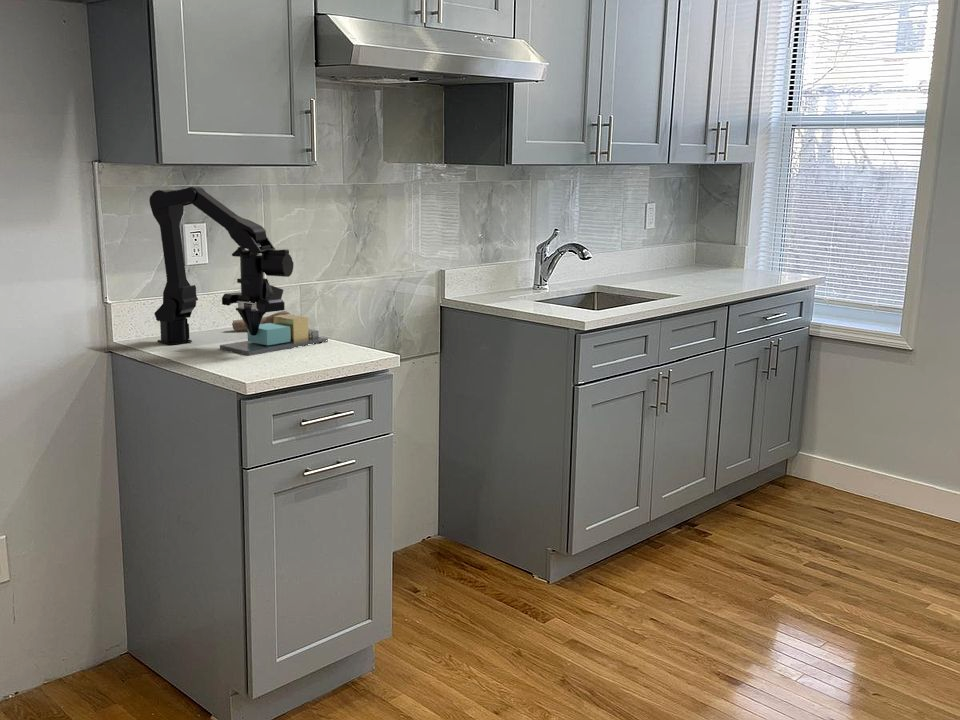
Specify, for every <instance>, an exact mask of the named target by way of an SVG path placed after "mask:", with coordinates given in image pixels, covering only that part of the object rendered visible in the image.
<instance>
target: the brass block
mask: <svg viewBox="0 0 960 720" xmlns="http://www.w3.org/2000/svg"><path fill="white" fill-rule="evenodd" d="M274 324H279V325H284V326H290V337H291V339H290V341H291V342H298V341H304V340H308V329H309V317H307V316H302V315H295V314H291V313H290V314H285V315H278V316H274Z"/></svg>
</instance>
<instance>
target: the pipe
mask: <svg viewBox="0 0 960 720" xmlns="http://www.w3.org/2000/svg"><path fill="white" fill-rule="evenodd" d="M285 314H291V313H290V312H289V311H287V310H282V311H277V312H274V313H273V314H270V315H268V316H263V317H262V319H261V322H260V324H266V323H274V316H278V315H285ZM231 325H232V329H233V330H234V332H235V331H241V332H248V331H247V326H246V324H245V322H244V321H243V319H242V318H241V319H237V320H232V324H231Z"/></svg>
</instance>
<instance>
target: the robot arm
mask: <svg viewBox="0 0 960 720" xmlns="http://www.w3.org/2000/svg"><path fill="white" fill-rule="evenodd" d="M189 205H190V206H191V205H193V206H194V207H196V209H198V210H200V211H201V212H202V213H203V214H205V215H207V217H209V218H211V219H212V220H214V221H215V222H216V223H217V224H218V225H220V226H221V227H222V228H224V229H225V230H226V231H227V232H228V234H229V236H230V238H231V240H233V241H234V242H235V243H236V245H237V248H236V250H235V251H233V252H232V253H231V256H232V257H235V258H236V257H237V258H239V260H240V261H239V263H240V265H239V266H240V267H239V268H240V277H239V278H237V279H236V280H237V281H236V283H238V284H240V292H239V291H237V292H227V293H223V295H222V297H221V305H224V306H231V305H233V304H237V307H235V311H237V312H238V314H239V316H240V317H241V319H243V321H244V322H245V324H246V326H247V328H248V330H249V332H250V334H251V335H252V336H255V335H257V331H258V328H259V325H260V322H261V319H262V317H264V315H266V313H272V312H273V313H275V312H282V311H286V310H285V309H286V307H285V301H284V300H283V299H282V298H283V295H284V289H282V288H280V287H277V286H274V285H271V284H270V283H269V280H268V278H265V275H266V276H269V277H282V278H283V277H285V278H288V277H290V276H291V275H292V274H293V271H294V261H293V258H292V256H291V254H290V250H289V249H288V248H287V249H286V248H285V249H276V248H275V246H274V245H273V244H272V242H271V240H270V239H269V237H267V233H266V229H265V228H264V227H263V226H262V225H261V224H258V223H256V222H254V221H252V220H251V219H250V220H249V219H246V218H244V217H241V216H239V215H238V214H236V213H235V212H234V211H233V210H231V209H229V208H228V207H227V206H225V204H223V203H222V202H220V201H219V200H218V199H216V198H215V197H214V196H212V195H211V194H210V193H208V192H206V190H205V189H204V188H203V187H201V186H188V187H187V188H182V189H176V190H175V189H158V190H155V191H154V192H152V193H151V195H150V196H149V207H150V209H151V212H152V213H151V214H152V216H153V218H154V219H155V220H156V222H157V223H158V226H159V229H160V230H159V231H160V237H161V244H162V253H163V258H164V259H163V260H164V268H165V276H166V283H165V286H164V289H163V292H162V304H161V305H160V306H159V308H157V309H156V311H155V312H154V313H153V314H154V317H155V320H156V321H157V322H159V326H160V327H159V328H160V339H157V343H161V344H165V345H169V346H170V345H171V346H173V345H180V344H186V343H192V342H193V340H192V339H190V324H189V323H188V318H191V316H192V312H193V310H194V309H195V308H196V307H197V301H199V298H198V297H197V296H198V295H197V287H196V285H195V284H194V285H193V284H192V285H191V284H190V283H189V281H188V279H187V274H186V265H185V257H184V249H183V243H182V242H183V241H182V235H181V234H182V232H181V222H182V218H183V215H184V207H185V206H189Z"/></svg>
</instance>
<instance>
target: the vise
mask: <svg viewBox="0 0 960 720" xmlns="http://www.w3.org/2000/svg"><path fill="white" fill-rule="evenodd" d="M319 332H320V331H319V330H317V329H312V328H308V340H304V341H298V342H291V341H290V342H285V343H279V344H273V345H263V344H258V343H253V342H249V341H248V340H243V341H237V342H231V343H225V344H219V350H224V351H227V352H231V353H235V354H236V353H237V354H241V355H246V356H254V355H260V354H266V353H267V354H268V353H271V352H272V353H273V352H277V351H283V350H289V348H290V349H295V348H294V347H296V348H299V347H298V346H302V347H304V346H303V345H307V346H309V345H308V344H313V343H319V342H325V341H326V340H327V342H325V343H328V342H329V338H328V337H325V336H324V337H322V336H319V335H320V334H319ZM319 344H320V343H319ZM313 345H314V344H313Z"/></svg>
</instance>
